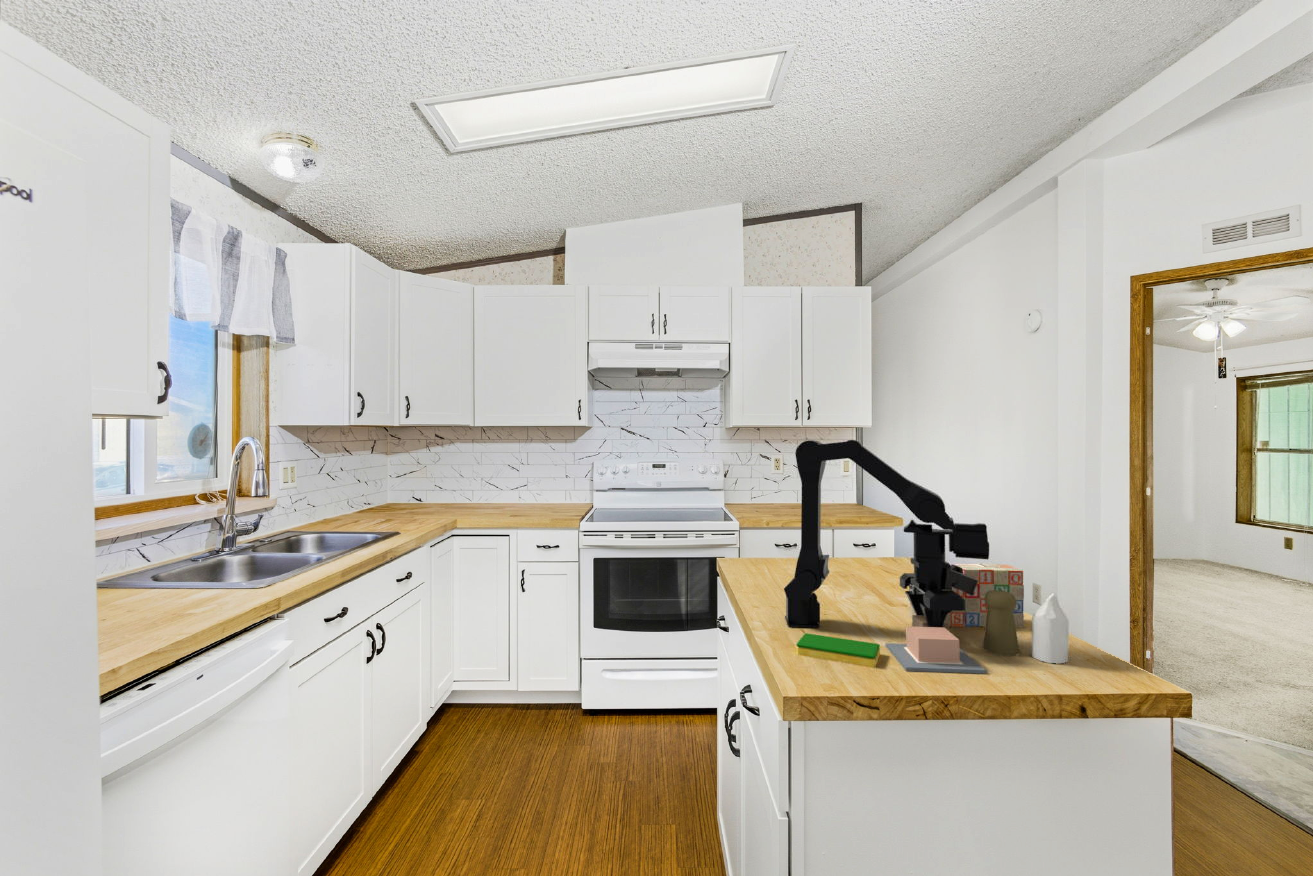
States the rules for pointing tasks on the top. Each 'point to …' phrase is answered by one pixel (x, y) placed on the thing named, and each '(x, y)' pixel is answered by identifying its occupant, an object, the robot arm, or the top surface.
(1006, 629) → the cork
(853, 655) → the dish sponge
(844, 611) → the top surface
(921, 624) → the walnut cube
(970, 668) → the slate mat
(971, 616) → the stack of blocks
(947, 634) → the pink square block
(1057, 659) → the white pointed cylinder
